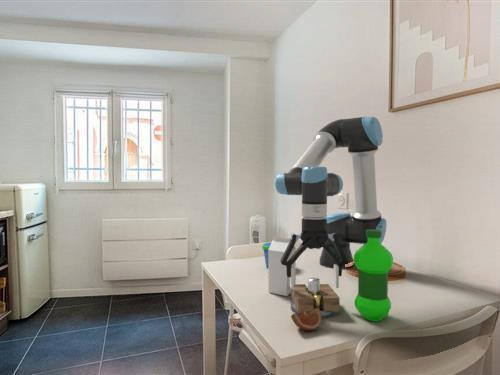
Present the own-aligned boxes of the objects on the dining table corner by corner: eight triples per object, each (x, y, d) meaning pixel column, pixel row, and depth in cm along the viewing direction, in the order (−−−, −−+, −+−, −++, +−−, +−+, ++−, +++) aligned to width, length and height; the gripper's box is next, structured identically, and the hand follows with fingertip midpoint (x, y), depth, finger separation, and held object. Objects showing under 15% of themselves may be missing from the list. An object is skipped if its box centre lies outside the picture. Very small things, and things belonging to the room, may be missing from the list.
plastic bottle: (364, 307, 103) (365, 226, 102) (398, 318, 95) (400, 230, 94) (346, 316, 97) (347, 230, 96) (381, 328, 89) (382, 235, 88)
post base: (314, 296, 112) (314, 270, 112) (347, 311, 100) (347, 281, 100) (281, 305, 104) (281, 277, 104) (312, 322, 93) (312, 290, 92)
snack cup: (258, 263, 154) (258, 241, 154) (280, 262, 156) (280, 240, 156) (267, 273, 139) (267, 248, 138) (291, 271, 141) (291, 247, 141)
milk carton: (286, 296, 112) (286, 240, 111) (268, 292, 116) (268, 238, 115) (295, 290, 118) (295, 236, 117) (277, 286, 122) (277, 235, 121)
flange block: (291, 296, 108) (291, 284, 108) (328, 296, 108) (328, 283, 108) (298, 312, 96) (298, 298, 96) (339, 311, 96) (339, 297, 96)
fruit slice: (298, 337, 84) (299, 317, 84) (285, 326, 91) (285, 308, 90) (326, 330, 88) (326, 312, 88) (311, 320, 94) (311, 303, 94)
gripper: (274, 219, 97) (274, 292, 98) (359, 218, 98) (358, 290, 99) (271, 216, 104) (271, 283, 105) (350, 215, 105) (350, 282, 106)
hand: (313, 287), depth 102 cm, fingers open, 13 cm apart
